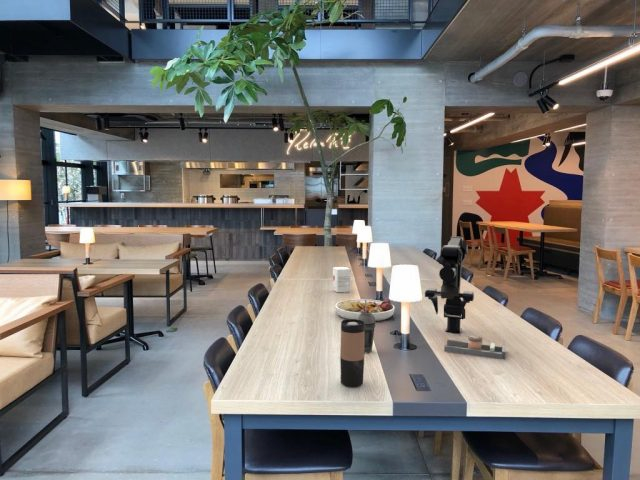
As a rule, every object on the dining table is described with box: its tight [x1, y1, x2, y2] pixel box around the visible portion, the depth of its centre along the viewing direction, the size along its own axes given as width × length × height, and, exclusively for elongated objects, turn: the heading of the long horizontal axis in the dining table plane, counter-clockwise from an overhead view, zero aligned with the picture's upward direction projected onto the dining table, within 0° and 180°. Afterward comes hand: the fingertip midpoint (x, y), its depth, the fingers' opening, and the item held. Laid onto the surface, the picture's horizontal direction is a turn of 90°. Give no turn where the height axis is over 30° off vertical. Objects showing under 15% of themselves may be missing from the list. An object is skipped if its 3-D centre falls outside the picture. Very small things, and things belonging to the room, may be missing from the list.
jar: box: [467, 335, 483, 350], centre depth 175 cm, size 5×5×6 cm
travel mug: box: [339, 319, 365, 388], centre depth 144 cm, size 8×8×20 cm
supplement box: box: [332, 266, 351, 293], centre depth 286 cm, size 9×9×15 cm
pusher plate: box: [489, 342, 496, 352], centre depth 173 cm, size 6×2×3 cm, turn 157°
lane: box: [443, 339, 507, 360], centre depth 176 cm, size 9×22×3 cm, turn 67°
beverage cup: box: [358, 300, 377, 354], centre depth 174 cm, size 7×7×20 cm
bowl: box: [334, 298, 396, 322], centre depth 229 cm, size 30×30×8 cm
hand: (448, 315), depth 183 cm, fingers open, 9 cm apart
